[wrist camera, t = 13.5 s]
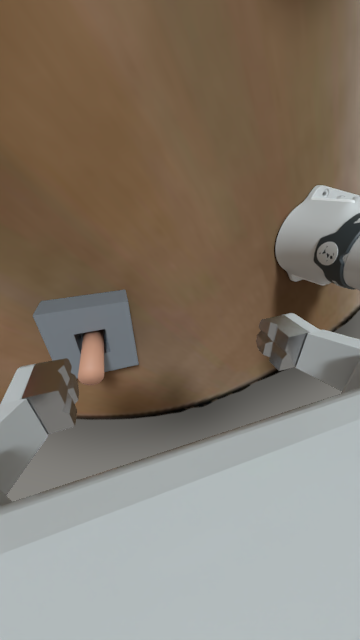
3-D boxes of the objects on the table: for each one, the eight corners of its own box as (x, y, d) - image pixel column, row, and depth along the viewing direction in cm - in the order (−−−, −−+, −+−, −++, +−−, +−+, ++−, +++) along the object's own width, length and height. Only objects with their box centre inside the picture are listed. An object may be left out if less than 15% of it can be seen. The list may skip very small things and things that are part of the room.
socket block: (125, 289, 40) (127, 301, 35) (135, 349, 47) (138, 364, 43) (40, 301, 36) (32, 315, 32) (65, 363, 44) (61, 381, 39)
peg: (101, 321, 40) (101, 364, 30) (105, 336, 42) (106, 381, 32) (81, 325, 39) (74, 369, 30) (86, 340, 41) (81, 387, 31)
